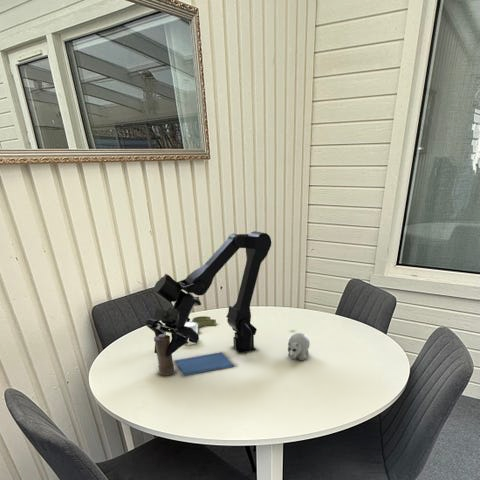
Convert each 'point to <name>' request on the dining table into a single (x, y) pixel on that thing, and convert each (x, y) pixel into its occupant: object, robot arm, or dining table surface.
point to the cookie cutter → (203, 321)
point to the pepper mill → (164, 355)
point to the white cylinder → (193, 326)
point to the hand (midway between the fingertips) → (161, 354)
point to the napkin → (203, 363)
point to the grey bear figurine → (298, 346)
